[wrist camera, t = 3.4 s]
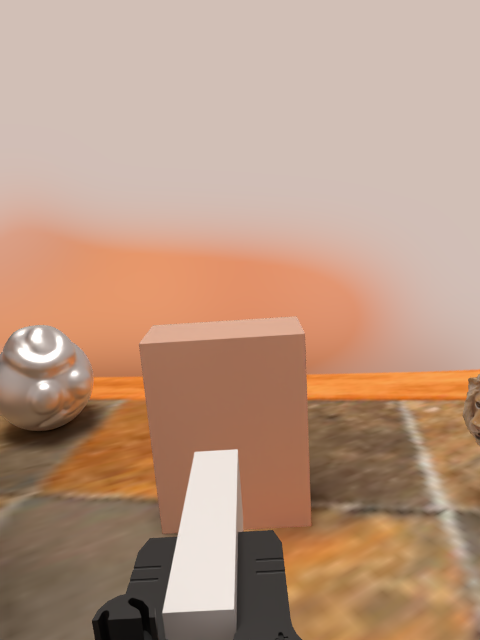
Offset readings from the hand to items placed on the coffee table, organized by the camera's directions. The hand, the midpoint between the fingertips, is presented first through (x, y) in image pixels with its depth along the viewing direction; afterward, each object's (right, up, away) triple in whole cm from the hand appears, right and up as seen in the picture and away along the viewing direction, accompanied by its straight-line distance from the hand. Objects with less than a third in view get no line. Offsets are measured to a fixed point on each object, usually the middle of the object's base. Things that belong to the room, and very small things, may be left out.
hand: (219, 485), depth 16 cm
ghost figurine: (-17, -4, +27) cm, 32 cm away
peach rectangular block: (+1, -6, +14) cm, 15 cm away
